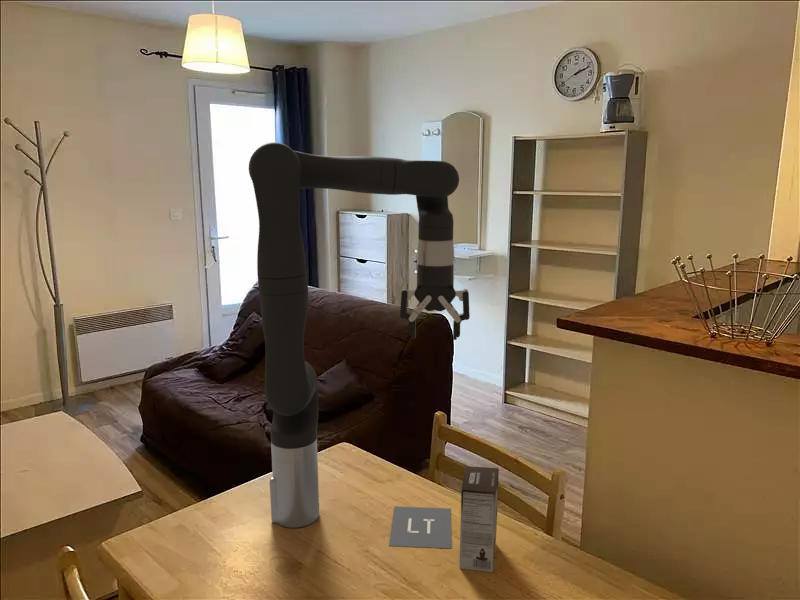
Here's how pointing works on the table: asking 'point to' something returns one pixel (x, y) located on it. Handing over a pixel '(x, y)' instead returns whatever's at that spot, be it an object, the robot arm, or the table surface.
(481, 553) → the coffee box
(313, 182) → the robot arm
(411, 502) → the table surface
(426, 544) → the mat
